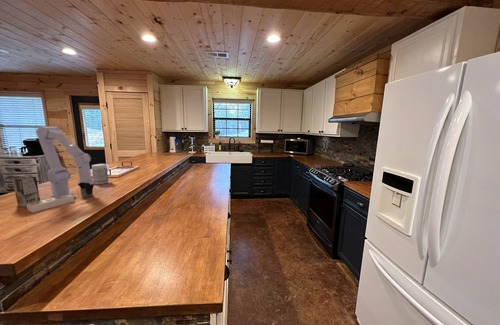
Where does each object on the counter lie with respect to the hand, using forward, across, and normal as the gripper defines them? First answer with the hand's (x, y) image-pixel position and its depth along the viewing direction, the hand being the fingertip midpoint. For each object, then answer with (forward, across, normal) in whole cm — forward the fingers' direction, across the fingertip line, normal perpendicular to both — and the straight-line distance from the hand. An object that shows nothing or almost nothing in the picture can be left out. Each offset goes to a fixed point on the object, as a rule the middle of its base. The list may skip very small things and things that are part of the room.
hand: (87, 193), depth 131 cm
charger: (+1, 0, -1) cm, 2 cm away
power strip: (+2, 0, -18) cm, 18 cm away
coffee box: (+2, -13, -23) cm, 27 cm away
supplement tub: (+2, -25, +22) cm, 33 cm away
